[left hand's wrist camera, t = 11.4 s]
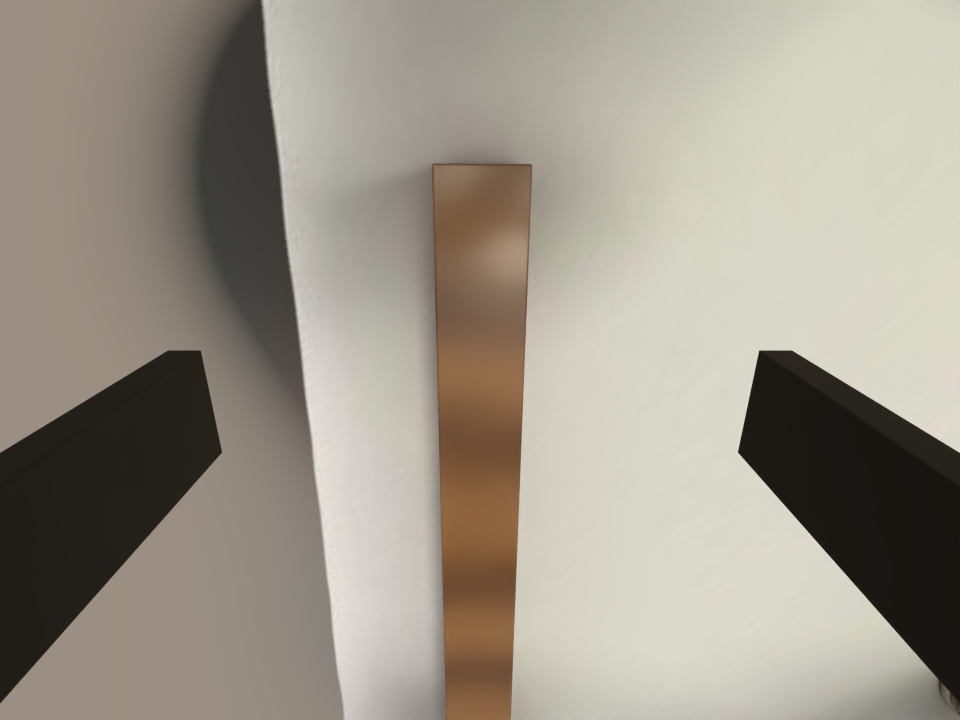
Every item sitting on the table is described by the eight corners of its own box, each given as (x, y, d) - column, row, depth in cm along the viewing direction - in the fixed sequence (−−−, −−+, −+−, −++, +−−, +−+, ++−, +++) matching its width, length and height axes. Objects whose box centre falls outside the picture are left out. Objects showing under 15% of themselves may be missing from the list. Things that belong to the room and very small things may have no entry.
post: (441, 163, 33) (431, 163, 26) (519, 164, 33) (532, 164, 26) (452, 726, 51) (448, 818, 44) (502, 725, 52) (506, 817, 44)
